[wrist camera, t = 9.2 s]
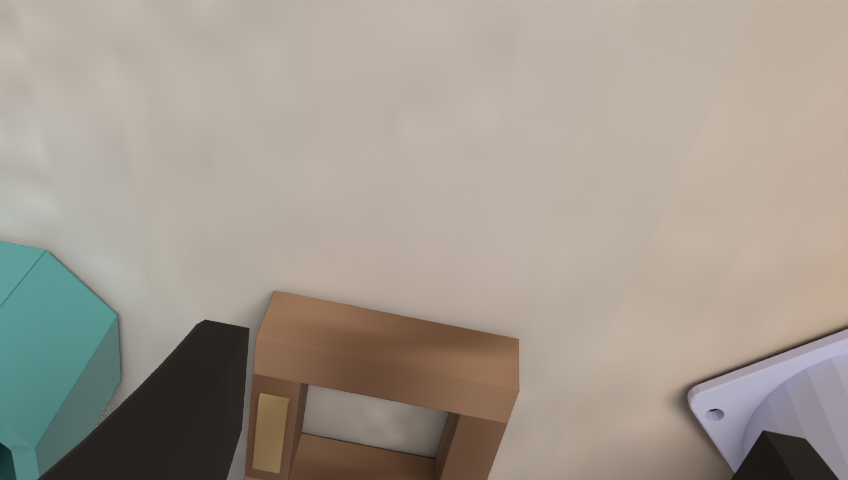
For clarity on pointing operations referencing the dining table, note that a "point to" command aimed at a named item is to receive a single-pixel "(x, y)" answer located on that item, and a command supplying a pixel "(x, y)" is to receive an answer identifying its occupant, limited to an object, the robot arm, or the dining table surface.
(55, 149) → the dining table surface
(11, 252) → the cup
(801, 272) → the dining table surface
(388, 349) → the block
